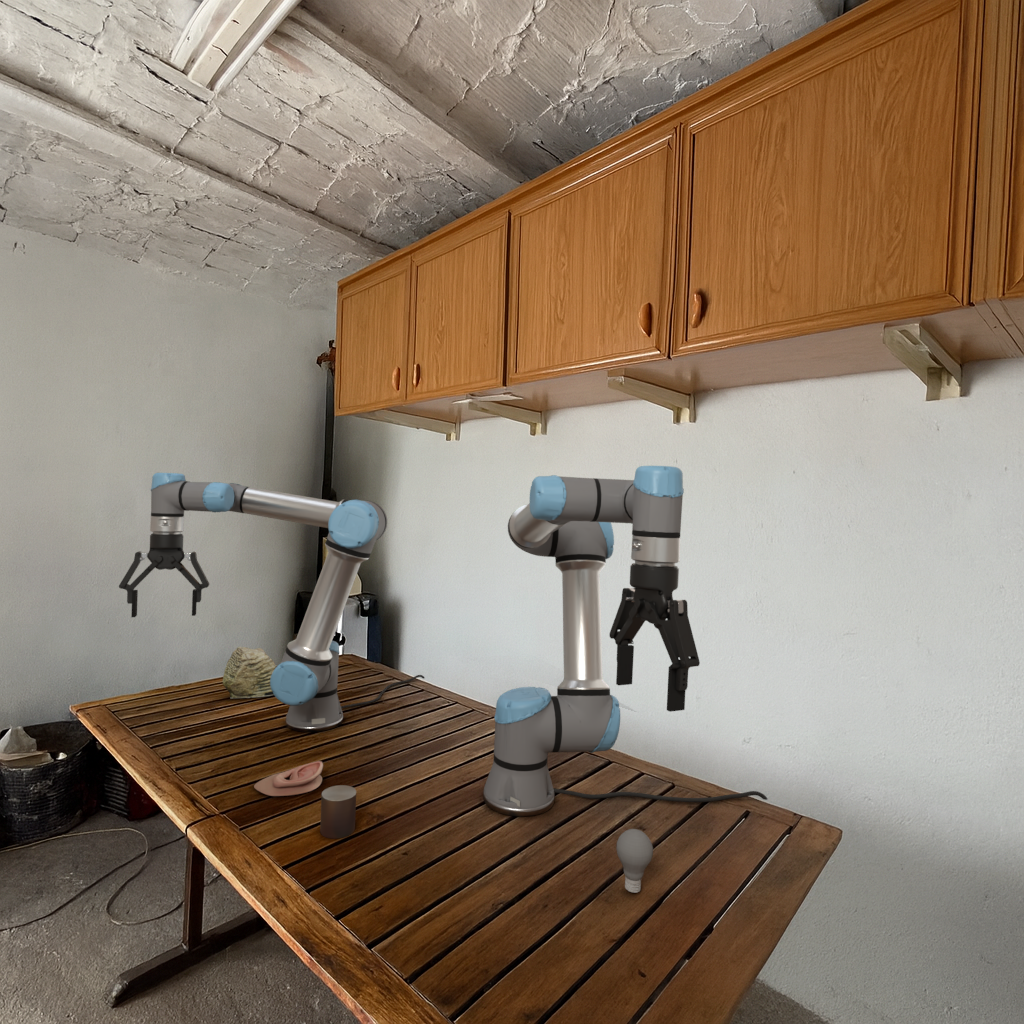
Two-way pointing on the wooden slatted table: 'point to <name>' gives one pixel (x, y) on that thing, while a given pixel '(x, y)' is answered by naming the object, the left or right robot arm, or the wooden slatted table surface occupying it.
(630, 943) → the wooden slatted table surface
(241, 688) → the fossil
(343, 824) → the can
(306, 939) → the wooden slatted table surface
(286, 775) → the anatomical model
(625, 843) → the light bulb
